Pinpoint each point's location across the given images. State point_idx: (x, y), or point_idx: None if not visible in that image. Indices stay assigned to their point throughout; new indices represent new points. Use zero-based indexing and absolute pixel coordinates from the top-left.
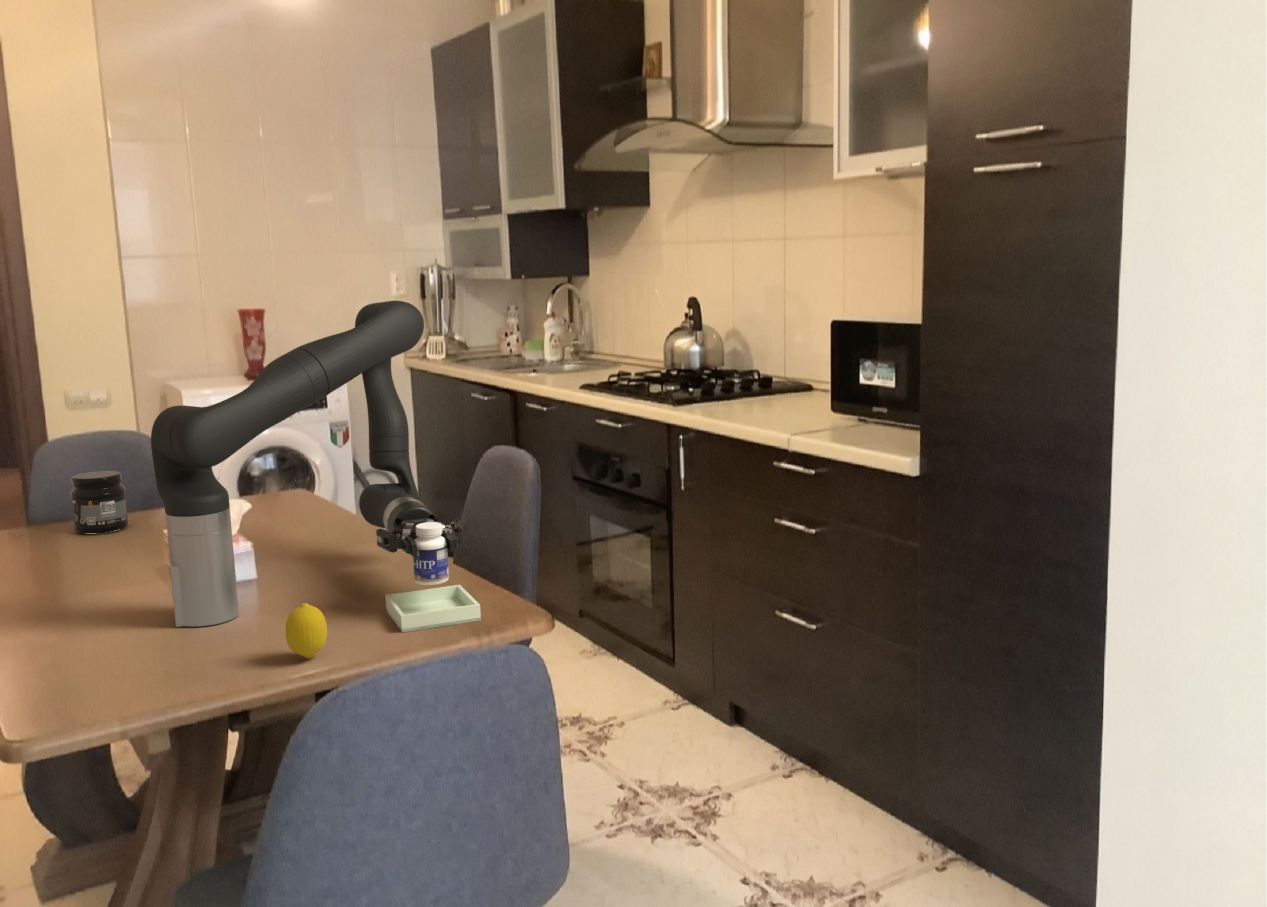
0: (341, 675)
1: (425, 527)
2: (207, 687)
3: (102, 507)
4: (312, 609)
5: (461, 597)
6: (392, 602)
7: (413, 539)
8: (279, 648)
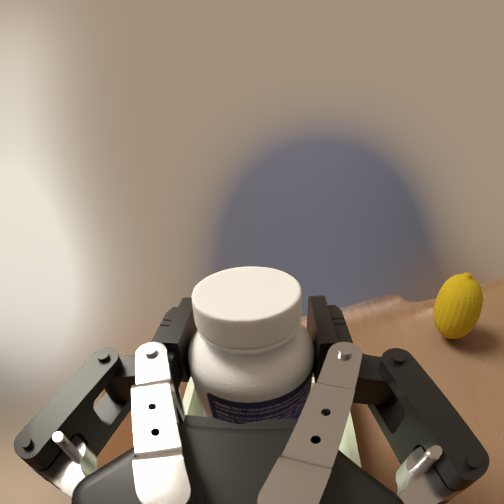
0: (398, 300)
1: (267, 274)
2: (497, 301)
3: None
4: (455, 276)
5: None
6: (356, 455)
7: (314, 314)
8: (492, 369)
